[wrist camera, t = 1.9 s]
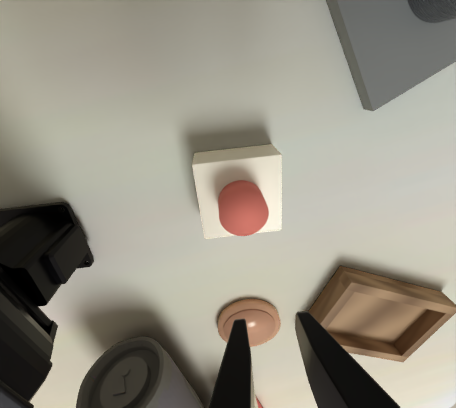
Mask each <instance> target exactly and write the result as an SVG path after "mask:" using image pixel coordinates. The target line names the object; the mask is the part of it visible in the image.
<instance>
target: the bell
mask: <svg viewBox="0 0 456 408" xmlns="http://www.w3.org/2000/svg"><path fill="white" fill-rule="evenodd" d="M408 4H409V7H410V9H411V10H412V12H413V13H414V15H415V16H416V17H417V18H419V19H420V20H422V21H424V22H428V23H439V22H444V21H448V20H452V19H456V0H408Z"/></svg>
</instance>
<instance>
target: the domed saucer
mask: <svg viewBox="0 0 456 408" xmlns="http://www.w3.org/2000/svg"><path fill="white" fill-rule="evenodd" d="M243 318H244V319H245V320H246V325H247V331H248V338H249V344H250V347H252V346H257V345H260V344H263V343H265V342H267V341H269V340H270V339H272V338H273V337H274V336H275V335H276V334H277V333H278V331H279V329H280V324H281V323H280V318H279V315H278V312H277V310H276V308H275V307H274V306H273V305H271V304H270V303H268V302H266V301H263V300H258V299H246V300H241V301H237V302H235V303H232V304H231V305H229V306H227V307H226V308H225V309H224V310H223V311H222V312H221V314H220V316H219V318H218V332H219V335H220V336H221V338H222V339H223V340H224V341H226V342H228V339H229V335H230V332H231V329H232V325H233V322H234V320H235V319H243Z"/></svg>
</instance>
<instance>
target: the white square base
mask: <svg viewBox="0 0 456 408" xmlns="http://www.w3.org/2000/svg"><path fill="white" fill-rule="evenodd" d="M192 168H193V174H194V180H195V185H196V191H197V197H198V203H199V209H200V215H201V220H202V226H203V232H204V238H205V239H209V238H218V237H226V236H235V235H234V234H231V233H229V232H228V231H226V230H225V229H224V228H223V226H222V225H221V223H220V220H219V208H218V198H219V195H220V192H221V191H222V189H223V188H224V187H225V186H226V185H228V184H229V183H231V182H234V181H238V180H245V181H249V182H252V183H254V184H255V185H256V186H258V188H259V189H260V190H261V192H262V195H263V197H264V199H265V201H266V204H267V206H268V210H269V216H268V219H267V222H266V224H265V225H264V226H263V227H262V228H261V229H260V230H259V231H258V232H256V233H261V232H269V231H278V230H281V228H282V154H281V153H280V152H279V151H278V150H277V149H276V148H275V147H274V146H273V145H272V144H268V145H259V146H250V147H241V148H232V149H223V150H214V151H205V152H196V153H194V158H193V162H192Z"/></svg>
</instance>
